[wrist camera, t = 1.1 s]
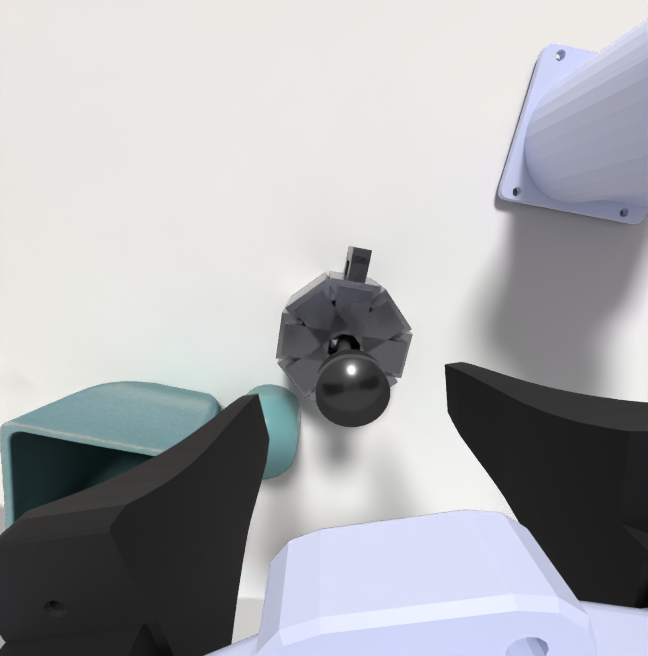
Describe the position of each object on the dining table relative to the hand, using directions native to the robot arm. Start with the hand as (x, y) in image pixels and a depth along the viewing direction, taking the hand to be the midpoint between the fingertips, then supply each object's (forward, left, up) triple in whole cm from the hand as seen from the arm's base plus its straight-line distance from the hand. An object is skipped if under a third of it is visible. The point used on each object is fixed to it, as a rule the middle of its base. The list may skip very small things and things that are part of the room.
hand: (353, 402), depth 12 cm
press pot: (0, 0, -10) cm, 10 cm away
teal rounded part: (+4, +7, -10) cm, 13 cm away
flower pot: (+11, +9, -11) cm, 18 cm away
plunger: (0, 0, -7) cm, 7 cm away
